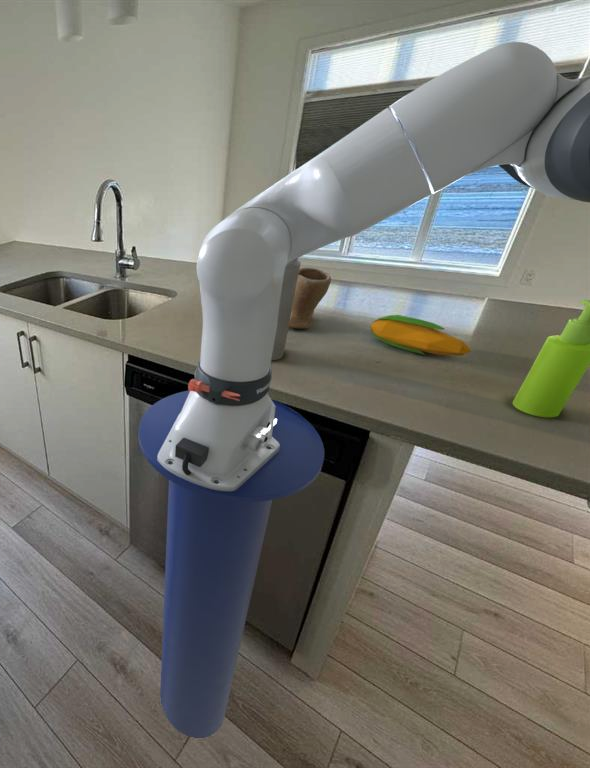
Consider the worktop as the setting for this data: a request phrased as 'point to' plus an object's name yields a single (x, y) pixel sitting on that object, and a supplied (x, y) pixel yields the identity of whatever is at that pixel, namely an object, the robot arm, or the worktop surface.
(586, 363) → the soap dispenser
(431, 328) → the corn
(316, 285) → the stone cup
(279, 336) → the thermos bottle
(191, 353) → the worktop surface
